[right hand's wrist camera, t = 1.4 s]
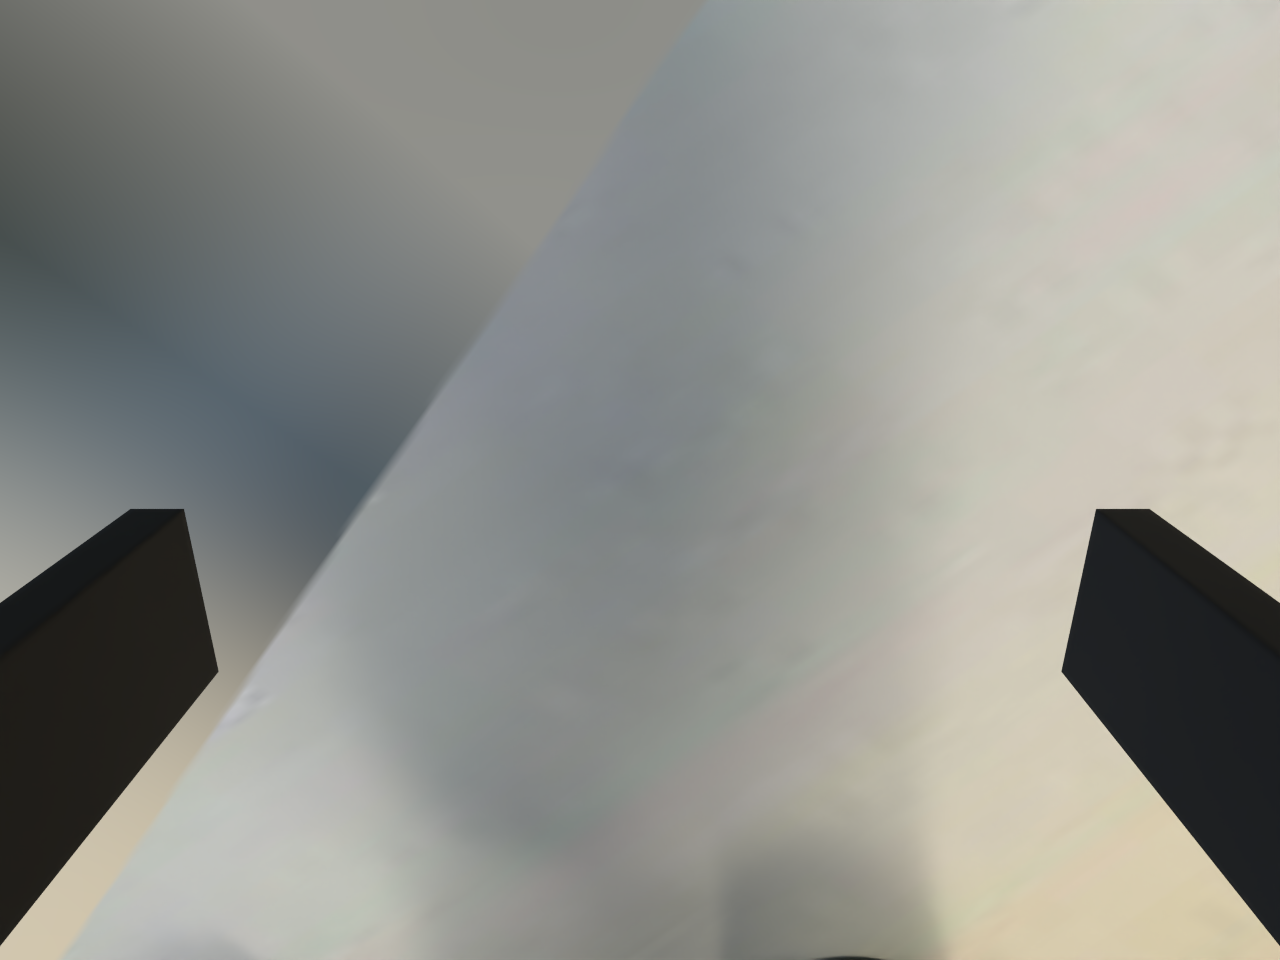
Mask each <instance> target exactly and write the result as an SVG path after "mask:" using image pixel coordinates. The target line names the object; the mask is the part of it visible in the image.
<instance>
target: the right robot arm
mask: <svg viewBox="0 0 1280 960" xmlns="http://www.w3.org/2000/svg"><path fill="white" fill-rule="evenodd" d="M217 673H218V667H217V662H216V658H215V653H214V648H213V643H212V639H211V634H210V629H209V625H208V620H207V615H206V611H205V606H204V601H203V597H202V592H201V587H200V583H199V578H198V573H197V568H196V564H195V559H194V554H193V550H192V545H191V540H190V536H189V531H188V526H187V522H186V517H185V512H184V509H130V510H129V511H127V512H126V513H124V514H123V515H122V516H120V517H119V518H118V519H116V520H115V521H113V522H112V523H111V524H109V525H108V526H106V527H105V528H104V529H102V530H101V531H99V532H98V533H97V534H95V535H94V536H93V537H91V538H90V539H88V540H87V541H86V542H84V543H83V544H81V545H80V546H79V547H77V548H76V549H75V550H73V551H72V552H70V553H69V554H68V555H66V556H65V557H63V558H62V559H61V560H59V561H58V562H57V563H55V564H54V565H52V566H51V567H50V568H48V569H47V570H45V571H44V572H43V573H41V574H40V575H38V576H37V577H36V578H34V579H33V580H32V581H30V582H29V583H27V584H26V585H25V586H23V587H22V588H20V589H19V590H18V591H16V592H15V593H13V594H12V595H11V596H9V597H8V598H6V599H5V600H4V601H2V602H1V603H0V945H1V944H2V943H3V942H4V940H5V939H6V938H7V937H8V935H9V934H10V933H11V932H12V930H13V929H14V928H15V927H16V925H17V924H18V923H19V922H20V920H21V919H22V918H23V916H24V915H25V914H26V913H27V911H28V910H29V909H30V908H31V906H32V905H33V904H34V903H35V901H36V900H37V899H38V898H39V896H40V895H41V894H42V893H43V891H44V890H45V889H46V888H47V886H48V885H49V884H50V883H51V881H52V880H53V879H54V878H55V876H56V875H57V874H58V873H59V871H60V870H61V869H62V868H63V866H64V865H65V864H66V862H67V861H68V860H69V859H70V857H71V856H72V855H73V854H74V852H75V851H76V850H77V849H78V847H79V846H80V845H81V844H82V842H83V841H84V840H85V839H86V837H87V836H88V835H89V834H90V832H91V831H92V830H93V829H94V827H95V826H96V825H97V824H98V822H99V821H100V820H101V819H102V817H103V816H104V815H105V814H106V812H107V811H108V810H109V809H110V807H111V806H112V805H113V803H114V802H115V801H116V800H117V798H118V797H119V796H120V795H121V793H122V792H123V791H124V790H125V788H126V787H127V786H128V785H129V783H130V782H131V781H132V780H133V778H134V777H135V776H136V775H137V773H138V772H139V771H140V769H141V768H142V767H143V766H144V765H145V763H146V762H147V761H148V759H149V758H150V757H151V756H152V754H153V753H154V752H155V751H156V749H157V748H158V747H159V746H160V744H161V743H162V742H163V741H164V739H165V738H166V737H167V736H168V734H169V733H170V732H171V731H172V729H173V728H174V727H175V726H176V724H177V723H178V722H179V721H180V719H181V718H182V717H183V715H184V714H185V713H186V712H187V710H188V709H189V708H190V707H191V705H192V704H193V703H194V702H195V700H196V699H197V698H198V697H199V695H200V694H201V693H202V692H203V690H204V689H205V688H206V687H207V685H208V684H209V683H210V682H211V680H212V679H213V678H214V677H215V675H216V674H217ZM1062 673H1063V674H1064V675H1065V677H1066V678H1067V679H1068V680H1069V682H1070V683H1071V684H1072V685H1073V687H1074V688H1075V689H1076V690H1077V692H1078V693H1079V694H1080V695H1081V697H1082V698H1083V699H1084V700H1085V702H1086V703H1087V704H1088V705H1089V707H1090V708H1091V709H1092V711H1093V712H1094V713H1095V714H1096V716H1097V717H1098V718H1099V719H1100V721H1101V722H1102V723H1103V724H1104V726H1105V727H1106V728H1107V729H1108V731H1109V732H1110V733H1111V734H1112V736H1113V737H1114V738H1115V739H1116V741H1117V742H1118V743H1119V744H1120V746H1121V747H1122V748H1123V749H1124V751H1125V752H1126V753H1127V754H1128V756H1129V757H1130V758H1131V760H1132V761H1133V762H1134V763H1135V765H1136V766H1137V767H1138V768H1139V770H1140V771H1141V772H1142V773H1143V775H1144V776H1145V777H1146V778H1147V780H1148V781H1149V782H1150V783H1151V785H1152V786H1153V787H1154V788H1155V790H1156V791H1157V792H1158V793H1159V795H1160V796H1161V797H1162V798H1163V800H1164V801H1165V802H1166V803H1167V805H1168V806H1169V807H1170V809H1171V810H1172V811H1173V812H1174V814H1175V815H1176V816H1177V817H1178V819H1179V820H1180V821H1181V822H1182V824H1183V825H1184V826H1185V827H1186V829H1187V830H1188V831H1189V832H1190V834H1191V835H1192V836H1193V837H1194V839H1195V840H1196V841H1197V842H1198V844H1199V845H1200V846H1201V847H1202V849H1203V850H1204V851H1205V852H1206V854H1207V855H1208V856H1209V857H1210V859H1211V860H1212V861H1213V863H1214V864H1215V865H1216V866H1217V868H1218V869H1219V870H1220V871H1221V873H1222V874H1223V875H1224V876H1225V878H1226V879H1227V880H1228V881H1229V883H1230V884H1231V885H1232V886H1233V888H1234V889H1235V890H1236V891H1237V893H1238V894H1239V895H1240V896H1241V898H1242V899H1243V900H1244V901H1245V903H1246V904H1247V905H1248V906H1249V908H1250V909H1251V910H1252V912H1253V913H1254V914H1255V915H1256V917H1257V918H1258V919H1259V920H1260V922H1261V923H1262V924H1263V925H1264V927H1265V928H1266V929H1267V930H1268V932H1269V933H1270V934H1271V935H1272V937H1273V938H1274V939H1275V940H1276V942H1277V943H1278V944H1279V945H1280V603H1279V602H1278V601H1276V600H1275V599H1274V598H1272V597H1271V596H1269V595H1268V594H1267V593H1265V592H1264V591H1262V590H1261V589H1260V588H1258V587H1257V586H1255V585H1254V584H1253V583H1251V582H1250V581H1249V580H1247V579H1246V578H1244V577H1243V576H1242V575H1240V574H1239V573H1237V572H1236V571H1235V570H1233V569H1232V568H1230V567H1229V566H1228V565H1226V564H1225V563H1224V562H1222V561H1221V560H1219V559H1218V558H1217V557H1215V556H1214V555H1212V554H1211V553H1210V552H1208V551H1207V550H1206V549H1204V548H1203V547H1201V546H1200V545H1199V544H1197V543H1196V542H1194V541H1193V540H1192V539H1190V538H1189V537H1187V536H1186V535H1185V534H1183V533H1182V532H1181V531H1179V530H1178V529H1176V528H1175V527H1174V526H1172V525H1171V524H1169V523H1168V522H1167V521H1165V520H1164V519H1162V518H1161V517H1160V516H1158V515H1157V514H1156V513H1154V512H1153V511H1151V510H1150V509H1096V512H1095V517H1094V522H1093V526H1092V531H1091V536H1090V540H1089V545H1088V550H1087V554H1086V559H1085V564H1084V568H1083V573H1082V578H1081V582H1080V587H1079V592H1078V597H1077V601H1076V606H1075V611H1074V615H1073V620H1072V625H1071V629H1070V634H1069V639H1068V643H1067V648H1066V653H1065V658H1064V662H1063V667H1062Z"/></svg>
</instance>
